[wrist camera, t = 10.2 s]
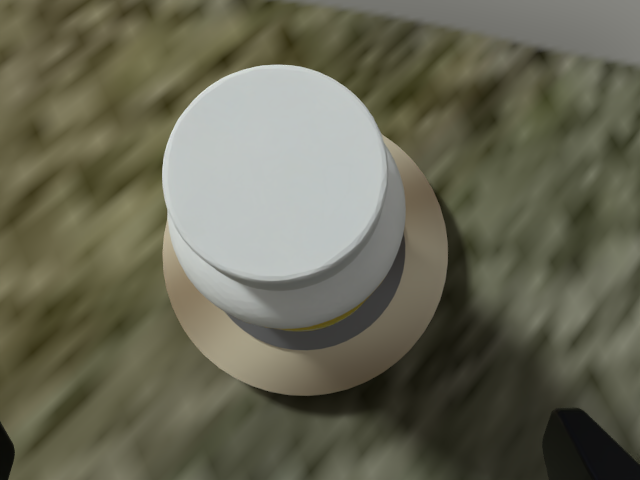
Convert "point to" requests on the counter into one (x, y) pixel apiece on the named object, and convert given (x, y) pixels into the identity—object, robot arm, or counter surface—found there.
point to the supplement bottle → (282, 198)
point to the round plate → (343, 337)
